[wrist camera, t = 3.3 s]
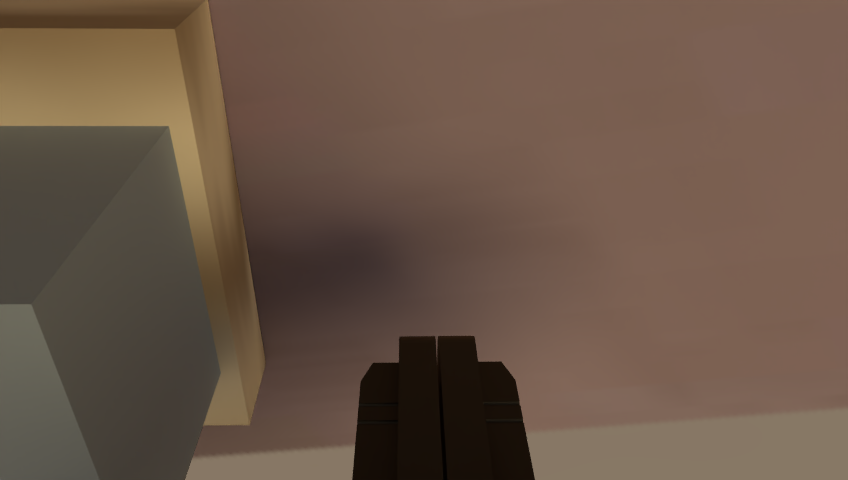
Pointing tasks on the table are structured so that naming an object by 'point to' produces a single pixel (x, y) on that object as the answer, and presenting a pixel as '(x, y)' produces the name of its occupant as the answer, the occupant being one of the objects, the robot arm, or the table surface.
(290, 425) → the table surface
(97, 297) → the box
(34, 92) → the block
